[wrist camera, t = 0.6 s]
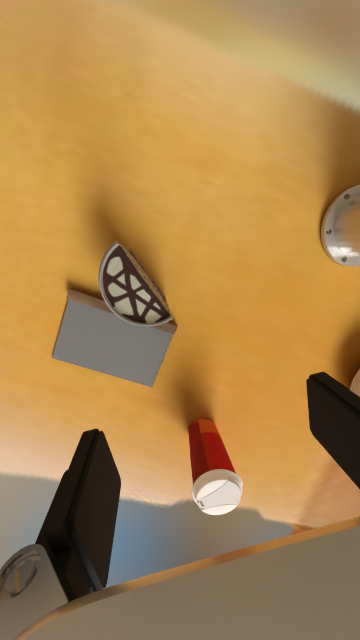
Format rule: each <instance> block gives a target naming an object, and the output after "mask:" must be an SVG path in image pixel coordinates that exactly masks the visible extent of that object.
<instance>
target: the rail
mask: <svg viewBox="0 0 360 640" xmlns="http://www.w3.org/2000/svg"><path fill="white" fill-rule="evenodd" d="M67 298H68V299H71V300H74V301H77V302H79V303H82V304H85V305H88V306H91V307H94V308H97V309H100V310H103V311H106V312H109V313H112V314H114V313H113V312H112V311H111V309H110V308H109V307H108V306H107V304H106V303H105V301H104V299H103V298H100V297H97V296H95V295H92V294H89V293H86V292H83V291H80V290H77V289H75V288H71V289H69V292H68V295H67ZM150 327H153V328H156V329H159V330H162V331H165V332H168V333H171V334H175V332H176V329H177V324H175V323H172V322H169V321H168V322H166V323H163V324H160V325H156V326H150Z"/></svg>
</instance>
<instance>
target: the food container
mask: <svg viewBox="0 0 360 640" xmlns="http://www.w3.org/2000/svg"><path fill="white" fill-rule="evenodd" d="M99 287H100V291H101V294H102V297H103V299H104V301H105V303H106V304H107V306H108V307H109V308H110V309H111V311H112V312H113V313H114V314H115V315H117V316H118V317H119V318H121V319H122V320H124V321H126V322H128V323H131V324H134V325H138V326H156V325H160V324H163V323H166V322H168V321H170V320H171V319H173V317H172V316H171V313H170V310H169V307H168V304H167V301H166V298H165V297H164V295H163V294H162V292H161V291H160V289H159V288H158V287H157V285H156V284H155V282H154V281H153V280H152V278H151V277H150V275H149V274H148V273H147V271H146V270H145V268H144V267H143V266H142V264H141V263H140V261H139V260H138V259H137V257H136V256H135V254H134V253H133V252H132V250H130V249H128V248H127V247H125V246H123V245H121V244H119V243H118V240H116V241H115V242H114V243H113V244H112V245H111V246H110V247H109V249H108V250H107V251H106V253H105V255H104V257H103V259H102V262H101V265H100V270H99Z"/></svg>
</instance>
